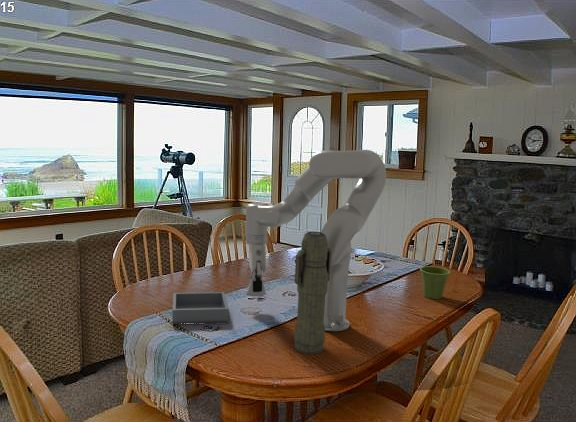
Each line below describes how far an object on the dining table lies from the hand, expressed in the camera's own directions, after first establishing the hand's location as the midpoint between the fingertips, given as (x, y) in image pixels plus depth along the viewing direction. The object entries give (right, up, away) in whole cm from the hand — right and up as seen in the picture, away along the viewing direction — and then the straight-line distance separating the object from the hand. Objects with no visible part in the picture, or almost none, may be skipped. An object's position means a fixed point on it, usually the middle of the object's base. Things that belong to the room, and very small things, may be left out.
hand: (256, 288), depth 185 cm
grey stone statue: (+17, -14, -29) cm, 36 cm away
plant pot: (+70, -8, +28) cm, 76 cm away
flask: (0, -2, 0) cm, 2 cm away
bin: (-19, -8, -5) cm, 21 cm away
